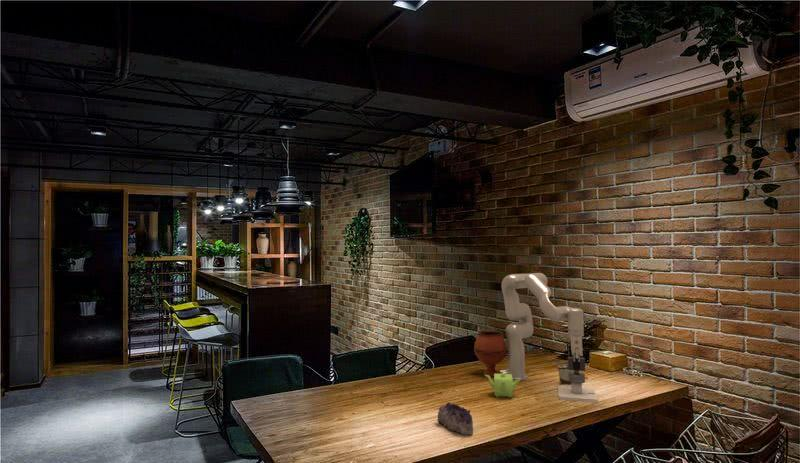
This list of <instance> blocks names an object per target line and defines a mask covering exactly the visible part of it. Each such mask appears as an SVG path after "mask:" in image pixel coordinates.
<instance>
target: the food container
mask: <svg viewBox="0 0 800 463" xmlns="http://www.w3.org/2000/svg"><path fill="white" fill-rule="evenodd" d="M556 368H557V370H556V371H558V378H559V383H560V384H559V386H572V382H570V381H568V373H569V372H574V370H568V363H564V364H563V363H562V364H558V365H557V367H556Z"/></svg>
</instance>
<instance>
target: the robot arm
mask: <svg viewBox="0 0 800 463" xmlns="http://www.w3.org/2000/svg"><path fill="white" fill-rule="evenodd" d="M516 289H528V290H529V291H530V292H531V293H532V295H534V296H535V297H536V298H537V299H538V303H539V307H540V310H541V311H542V312H543V314H544V315H545V316H546V317H547V318H548V319H549V320H550V321H552V322H556V323H559V322H565V321H567V335H568V336H570V350H571V355H572V357H574V361H573V369H574V370H580V359H579V358H581V357H583V356H584V354H583V338H582V337H584V336H585V334H584V333H585V332H584V329H585V328H584V310H583V309H582V308H580V307H579V308H578V307H571V306H567V305H564V306H555V305H554V304H553V303H552V302H551V301H550V299H549V298H550V297H551V295H552V289H551V288H550V287H549V286H548V278H547V276H546V275H545V274H544V273H543V272H533V273H513V274H507V275H506V276H505V277H503V279H502V282H501V291H502V294H503V300H504V301H503V303H504V308H505V315H506V316H505V317H506V318H507V319H508V320H509V321H518V322H511V323H509V324H508V325H507V326H506V328H505V336H506V342H507V343H506V344H507V368H506V369H500V370H499V374H501V373H505V374H512V379H513V381H516V380H517V379H519V380H520V381H524V380H527V379H528V378H529V377H528V375H527V374H526V366H525V365H526V364H525V363H526V360H525V358H526V357H525V356H526V355H525V354H526V353H525V343H524V341H523V339H525V338H527V339H528V338H530V337H531V336H532V335H533V334H534V323H533V322H534V321H533V315H532V310H531V308H530V306H529V305H528V304H527V303H525V302H520V296H519V294H518V292H517V291H516ZM580 356H581V357H580Z"/></svg>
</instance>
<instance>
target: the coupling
mask: <svg viewBox="0 0 800 463" xmlns="http://www.w3.org/2000/svg"><path fill="white" fill-rule="evenodd" d="M579 359H580V370H574V369H573V361H574V357H573V356H567V364H568V370H574V372H569V373H568V381H570V382H572V383H582V384H584V383H586V380H589V376H586V374H585V373H584V372H586V359H585V357H579Z"/></svg>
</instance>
